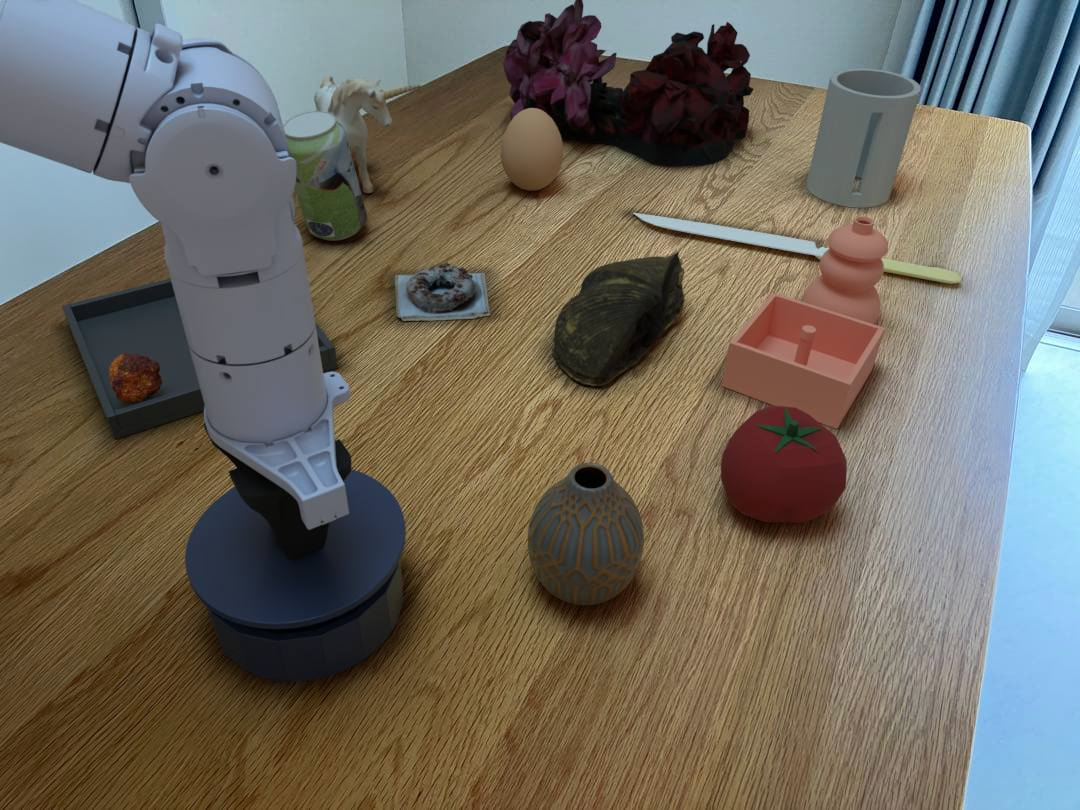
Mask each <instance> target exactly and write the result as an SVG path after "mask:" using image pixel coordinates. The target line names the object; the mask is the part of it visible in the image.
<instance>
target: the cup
mask: <svg viewBox="0 0 1080 810" xmlns="http://www.w3.org/2000/svg"><path fill="white" fill-rule="evenodd" d="M921 91H922V87H921V85H920V83H918V82H917V81H916V80H915V79H913V78H910V77H908V76H905V75H903V74H900V73H897V72H894V71H893V72H892V71H889V70H883V69H876V68H863V67H862V68H859V67H858V68H857V67H856V68H846V69H840V70H838V71H835V72H833V73H832V74H831V75H830V78H829V81H828V85H827V91H826V95H825V99H824V105H823V108H822V113H821V117H820V122H819V127H818V130H817V135H816V140H815V144H814V147H813V154H812V157H811V161H810V166H809V170H808V175H807V178H806V179H807V180H806V183H805V185H806V188H807V190H808V192H809V193H810V194H812V195H813V196H814V197H816V198H818V199H819V200H822V201H823V202H826V203H829V204H833V205H836V206H839V207H840V206H841V207H848V208H859V209H862V208H873V207H878V206H882V205H883V204H885V203H886V202H888V201H889V200H890V197H891V194H892V189H893V186H894V183H895V180H896V177H897V173H898V170H899V167H900V163H901V160H902V157H903V156H902V155H903V153H904V149H905V145H906V142H907V139H908V135H909V133H910V128H911V125H912V121H913V118H914V113H915V111H916V108H917V104H918V100H919V97H920V94H921ZM856 178H858V179H860V184H859V187H858V191H853V186H854V182H855V179H856Z"/></svg>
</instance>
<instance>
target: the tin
mask: <svg viewBox="0 0 1080 810" xmlns="http://www.w3.org/2000/svg"><path fill="white" fill-rule="evenodd" d="M403 585H404V584H403V572H402V564H401V560H400V561H399V563H398V565H397V567H396V568H395V570H394V572H393V573H392V575H391V576H390V577H389V579H388V580H387V581H386V582H385V584H384V585H383V586H382V587H381V588H380V589H379V590H378V591H377V592H376V593H374V594H373V595H372V596H371V597H369V598H368V599H367V600H366V601H364V602H363V603H361V604H360V605H358V606H357V607H355V608H353V609H351V610H349V611H348V612H346V613H344V614H342V615H340V616H337V617H335V618H332V619H329V620H327V621H324V622H320V623H317V624H313V625H309V626H304V627H298V628H289V629H262V628H255V627H248V626H245V625H241V624H237V623H234V622H232V621H230V620H227V619H225V618H223V617H221V616H219V615H218V614H216V613H214V612H213V611H211V610H210V609H209V608H208V607H207V606H206V605H205V607H206V610H207V613H208V616H209V620H210V622H211V625H212V628H213V630H214V632H215V635H216V637H217V640H218V642H219V645H220V647H221V649H222V652H223V653H224V654H225V655H226V656H227V658H229V659H230V660H231V661H232V662H233V663H234V664H235V665H236V666H238V667H239V668H240V669H242V670H244V671H246V672H247V673H249V674H251V675H253V676H256V677H259V678H262V679H266V680H269V681H275V682H282V683H301V682H311V681H316V680H321V679H325V678H328V677H332V676H336V675H338V674H340V673H342V672H344V671H347V670H349V669H351V668H353V667H354V666H356V665H358V664H359V663H361V662H363V661H364V660H365V659H367V658H369V657H370V656H371V655H372V654H373V653H374V652H376V651H377V650H378V649H379V648H380V647H381V645H382V644H384V643H385V641H386V640H387V639H388V637H389V636H390V635H391V633H392V631H393V630H394V628H395V627H396V625H397V623H398V621H399V618H400V615H401V612H402V608H403V605H404V601H405V600H404V586H403Z"/></svg>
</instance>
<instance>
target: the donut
mask: <svg viewBox="0 0 1080 810" xmlns="http://www.w3.org/2000/svg"><path fill="white" fill-rule="evenodd" d="M486 280H487V279H486V273H485V272H477V273H476V272H475V273H474V272H473V273H470V272H468V270H467V269H465V268H464V267H463V266H461V267H457V266H455V265H451V264H450V263H448V262H447V261H445V262H443V263H442V264H441V263H439V264H438V265H436V266H433V265H431V266H430V267H426V268H425V269H421V270H418V271H417V272H416V273H412V274H394V286H395V287H394V288H395V306H396V307H395V308H396V309H395V310H396V311H395V314H396V317H397V318H399V319H401V321H402V322H407V321H408V322H409V321H411V322H415V321H416V322H419V321H427V322H431V321H432V322H433V321H435V322H436V321H447V320H449V321H451V320H470V319H471V320H473V319H477V318H482V317H488V316H491V313H490V305H489V298H488V289H487V281H486Z"/></svg>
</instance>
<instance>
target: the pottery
mask: <svg viewBox="0 0 1080 810" xmlns="http://www.w3.org/2000/svg"><path fill="white" fill-rule="evenodd" d="M875 222H876V221H875V220H874V219H873V218H872V217H869V216H865V215H858V216H857V215H856V216H855V217H853V221H852V224H844V225H841V226H839V227H837V228H834V229H833V230H832V231H831V232H830V234H829V235H828V238H827V244H828V248H829V249H828V250H827V251H826V252H825V253H824V254H823V256H822V258H821V260H820V261H819V271H820V274H821V275H819V276H817V278H815V279H813V280H812V282H810V284H809V285H808V287H807V288H806V289H805V291H804V293H803V296H802V300H798V299H796V298H792V297H789V296H786V295H783V294H780V293H776V292H772V293H770V295H768V297H767V298H766V299H765V300H764V302H762V304H761V305H760V306H759V308H758V309H757V310H756V311H755V312H754V313H753V315H752V316H751V317H750V318H749V319H748V320H747V322H746V323H745V324H744V325H743V327H742V328H741V329H740V330H739V331H738V333H736V334H735V336H734V337H733V338H732V339H731V340H730V342H729V344H728V350H727V356H726V360H725V364H724V369H723V376H722V381H721V387H723V388H726V389H727V390H731V391H734V392H736V393H739V394H742V395H744V396H747V397H749V398H752V399H756V400H758V401H760V402H763V403H766V404H769V405H770V406H786V407H794V408H797V409H799V410H801V411H803V412H805V413H807V414H809V415H810V416H811V417H813V418H814V419H815V420H816V421H818V422H819V423H820V424H821V425H824V426H825V425H826V426H828V427H830V428H833V429H836V430H838V428H840V427H839V426H840V425H841V423H842V422H843V420H844V418H845V417H846V416H847V414H848V412H849V410H850V408H851V406H853V403H854V401H855V400H856V398H857V397H858V395H859V393H860V392H861V389H862V388H863V386H864V385H865V383H866V381H867V380H868V378H869V376H870V374H871V373H872V371H873V368H874V366H875V362H876V359H877V356H878V352H879V349H880V346H881V343H882V340H883V337H884V334H885V330H886V327H883V326H881V325H877V324H875V323H877V320H878V319H879V316H880V312H881V307H882V306H881V298H880V295H879V293H878V290H877V288H876V287H875V286H876V285H877V284H878V283H879V282H880V281H881V279H882V277H883V275H884V273H885V272H884V265H883V262H882V259H881V258H884V256H886V254H888V251H889V241H888V240H887V238H886V237H885V236H884V234H883V233H881V232H880V231H879V230H877V229H875V228H874V226H875Z"/></svg>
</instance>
